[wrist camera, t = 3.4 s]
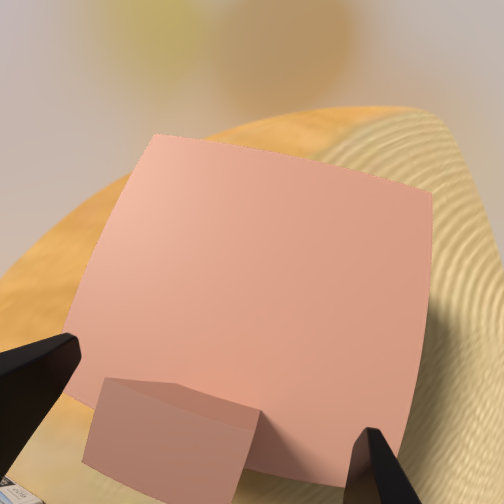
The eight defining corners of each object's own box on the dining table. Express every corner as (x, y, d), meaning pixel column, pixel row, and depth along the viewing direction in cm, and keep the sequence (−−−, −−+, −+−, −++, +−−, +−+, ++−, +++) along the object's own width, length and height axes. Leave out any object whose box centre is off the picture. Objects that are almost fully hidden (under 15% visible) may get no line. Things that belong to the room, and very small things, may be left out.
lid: (378, 485, 9) (457, 543, 3) (57, 383, 11) (-51, 364, 5) (425, 202, 14) (484, 113, 8) (159, 144, 15) (123, 49, 10)
